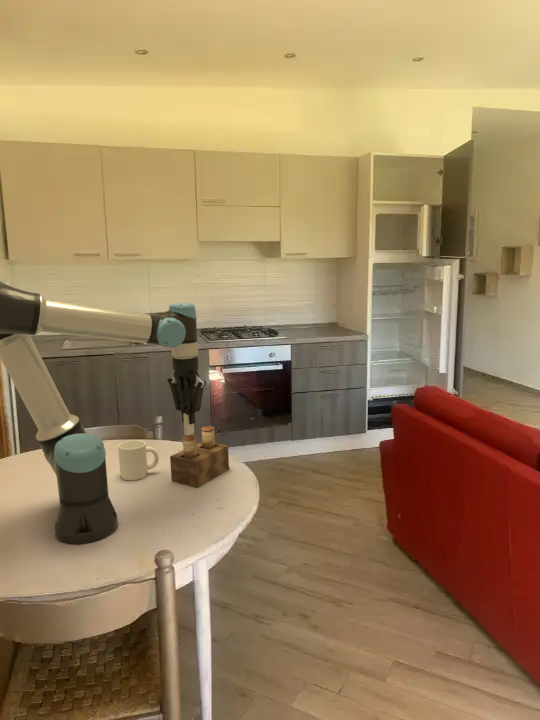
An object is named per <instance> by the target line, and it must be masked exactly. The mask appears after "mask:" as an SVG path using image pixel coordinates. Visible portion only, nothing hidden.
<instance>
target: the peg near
mask: <svg viewBox="0 0 540 720" xmlns="http://www.w3.org/2000/svg"><path fill="white" fill-rule="evenodd" d="M197 443H198V442H197V435H195V434H194V433H193V434H191V435H185V434H184V435H183V436H182V447H183V451H184V458H188V459H193V458H195V457H197Z"/></svg>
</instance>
